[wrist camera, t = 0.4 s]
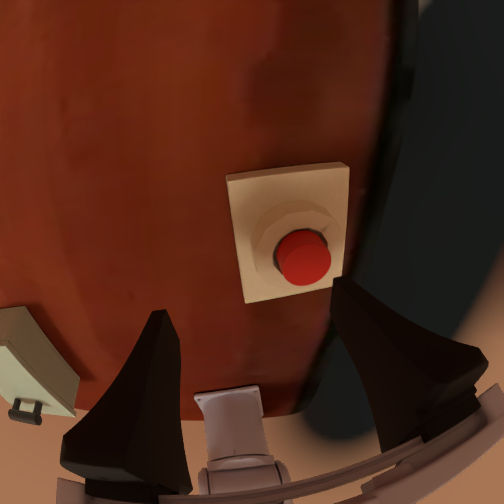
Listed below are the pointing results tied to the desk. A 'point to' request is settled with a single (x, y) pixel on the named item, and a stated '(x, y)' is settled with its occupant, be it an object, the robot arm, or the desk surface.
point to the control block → (286, 222)
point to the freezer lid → (27, 389)
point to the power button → (303, 258)
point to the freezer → (38, 352)
